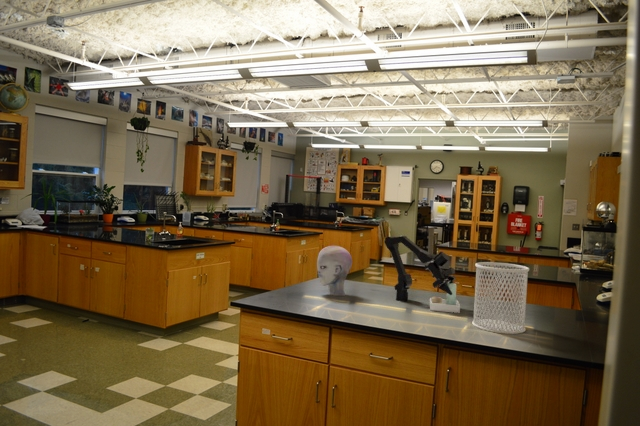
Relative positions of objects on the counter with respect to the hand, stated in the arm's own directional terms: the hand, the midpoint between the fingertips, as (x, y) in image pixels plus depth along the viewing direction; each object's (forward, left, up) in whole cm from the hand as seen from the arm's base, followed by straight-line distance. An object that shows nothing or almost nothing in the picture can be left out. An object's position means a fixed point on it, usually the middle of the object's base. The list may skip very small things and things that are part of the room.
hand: (453, 293), depth 260 cm
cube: (-9, +1, -8) cm, 12 cm away
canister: (-1, +1, -7) cm, 7 cm away
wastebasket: (+19, -28, -9) cm, 36 cm away
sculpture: (-71, +15, -9) cm, 73 cm away
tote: (-5, +1, -9) cm, 10 cm away
